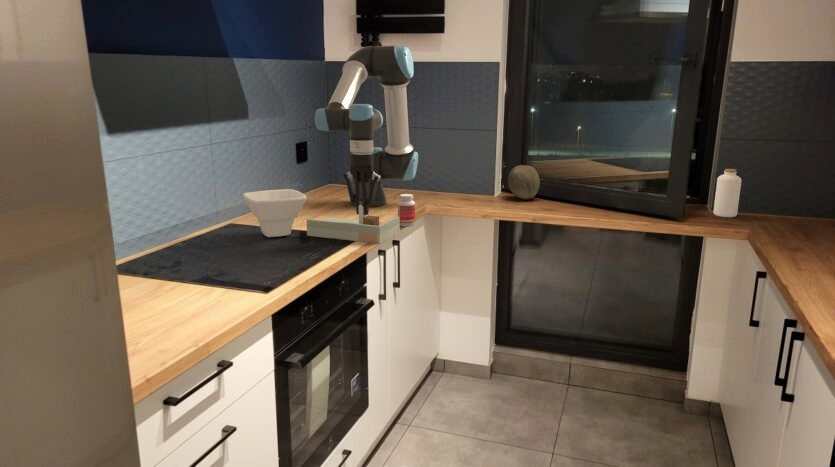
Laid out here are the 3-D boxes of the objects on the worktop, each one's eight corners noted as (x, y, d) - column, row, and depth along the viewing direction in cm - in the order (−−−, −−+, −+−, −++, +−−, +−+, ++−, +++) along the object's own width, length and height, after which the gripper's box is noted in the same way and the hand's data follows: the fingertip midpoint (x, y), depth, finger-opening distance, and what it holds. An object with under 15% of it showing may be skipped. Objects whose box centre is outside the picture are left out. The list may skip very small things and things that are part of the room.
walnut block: (368, 227, 210) (368, 215, 209) (379, 228, 209) (379, 216, 208) (363, 229, 207) (362, 217, 206) (374, 230, 205) (373, 218, 204)
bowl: (255, 245, 198) (252, 202, 195) (242, 232, 215) (239, 192, 212) (312, 239, 207) (310, 197, 203) (295, 226, 223) (293, 188, 220)
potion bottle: (736, 214, 245) (742, 168, 241) (737, 218, 238) (743, 171, 234) (713, 212, 249) (718, 167, 244) (713, 216, 241) (718, 170, 237)
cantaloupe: (544, 198, 277) (545, 164, 273) (531, 203, 265) (533, 168, 262) (514, 195, 284) (515, 162, 281) (501, 200, 273) (502, 165, 269)
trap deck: (330, 225, 225) (330, 210, 224) (399, 232, 216) (399, 216, 214) (307, 235, 211) (306, 219, 210) (379, 243, 201) (379, 226, 200)
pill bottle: (418, 225, 225) (418, 195, 223) (404, 227, 222) (403, 197, 219) (409, 222, 230) (409, 192, 228) (394, 224, 227) (394, 194, 224)
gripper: (338, 153, 201) (339, 224, 207) (374, 155, 196) (375, 228, 202) (349, 150, 208) (350, 220, 213) (384, 152, 203) (385, 223, 209)
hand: (362, 224), depth 208 cm, fingers closed
